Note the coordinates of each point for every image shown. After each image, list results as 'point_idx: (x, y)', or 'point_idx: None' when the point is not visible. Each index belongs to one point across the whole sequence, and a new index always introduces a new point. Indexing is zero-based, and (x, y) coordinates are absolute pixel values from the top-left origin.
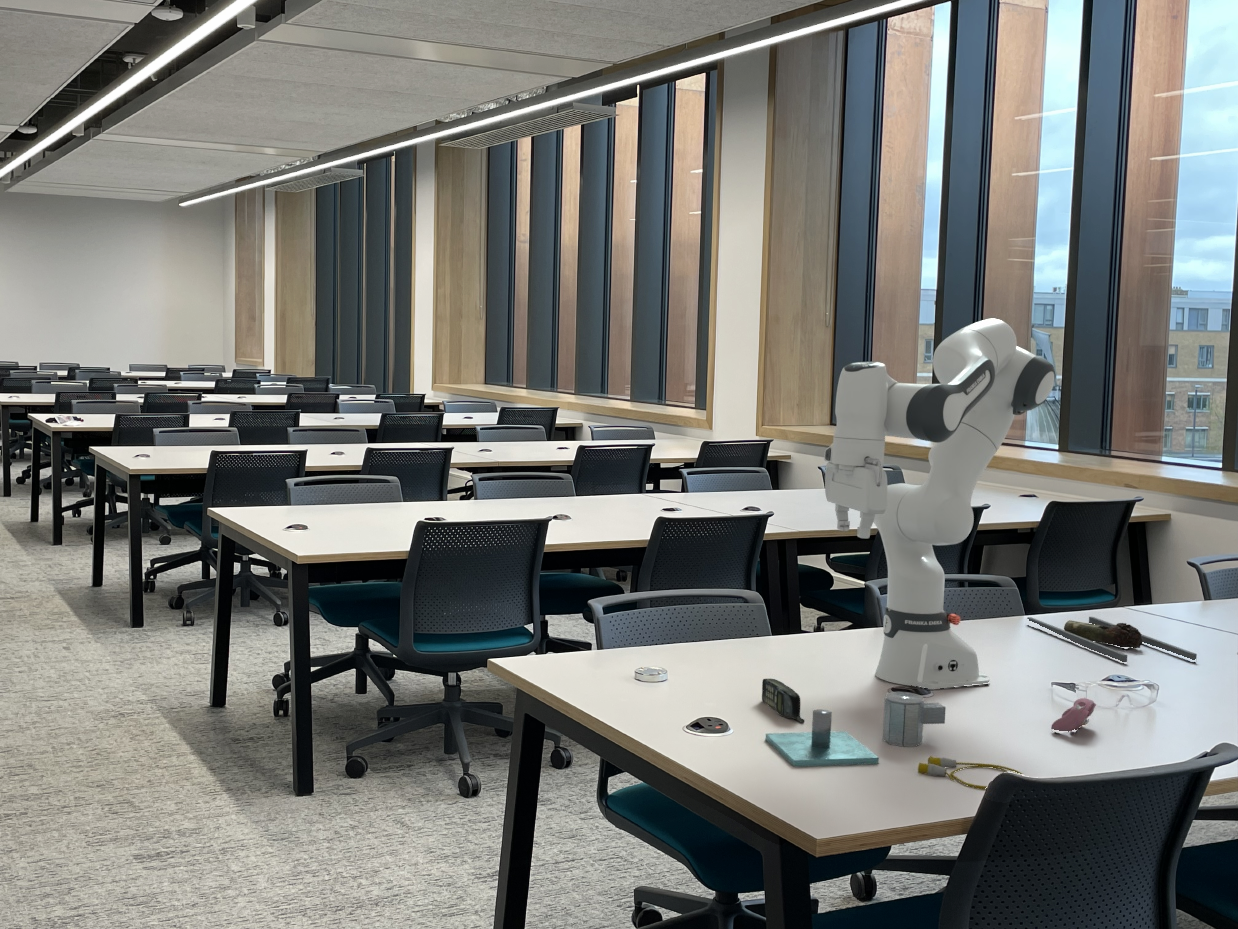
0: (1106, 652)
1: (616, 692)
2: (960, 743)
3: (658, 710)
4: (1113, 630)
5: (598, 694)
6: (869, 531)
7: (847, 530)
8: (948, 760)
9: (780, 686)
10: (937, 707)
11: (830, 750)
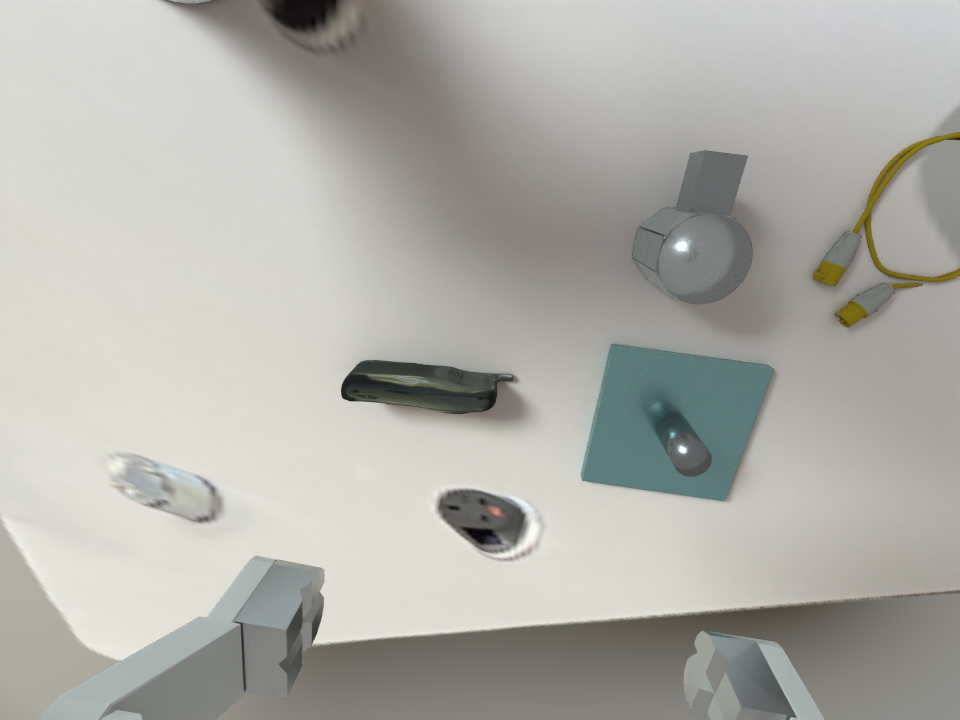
0: None
1: None
2: (732, 123)
3: (390, 554)
4: None
5: None
6: (806, 696)
7: (323, 575)
8: (854, 251)
9: (426, 406)
10: (740, 179)
11: (703, 426)
